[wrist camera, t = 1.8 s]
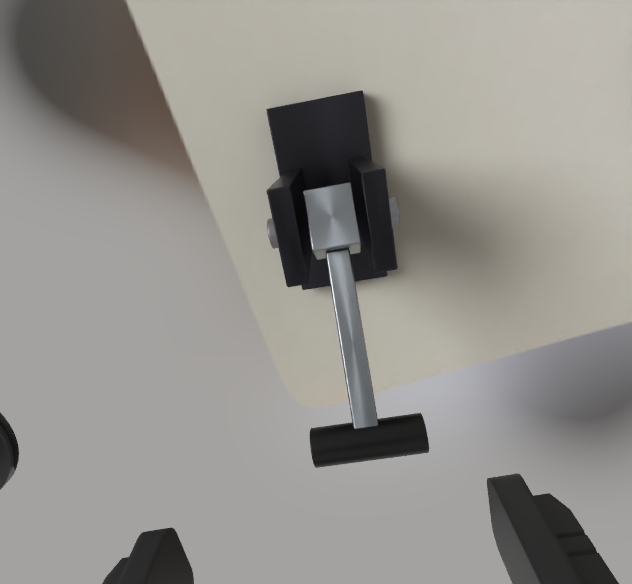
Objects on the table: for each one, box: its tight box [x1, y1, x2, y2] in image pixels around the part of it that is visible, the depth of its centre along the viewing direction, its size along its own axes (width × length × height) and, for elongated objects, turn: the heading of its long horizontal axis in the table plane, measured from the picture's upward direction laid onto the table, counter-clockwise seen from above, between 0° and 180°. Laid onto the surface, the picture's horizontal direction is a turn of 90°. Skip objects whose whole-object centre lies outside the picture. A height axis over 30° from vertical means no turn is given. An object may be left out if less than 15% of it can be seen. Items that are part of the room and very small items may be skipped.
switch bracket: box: [267, 91, 400, 290], centre depth 25 cm, size 12×6×12 cm, turn 10°
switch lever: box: [303, 182, 429, 467], centre depth 20 cm, size 12×5×2 cm, turn 10°
